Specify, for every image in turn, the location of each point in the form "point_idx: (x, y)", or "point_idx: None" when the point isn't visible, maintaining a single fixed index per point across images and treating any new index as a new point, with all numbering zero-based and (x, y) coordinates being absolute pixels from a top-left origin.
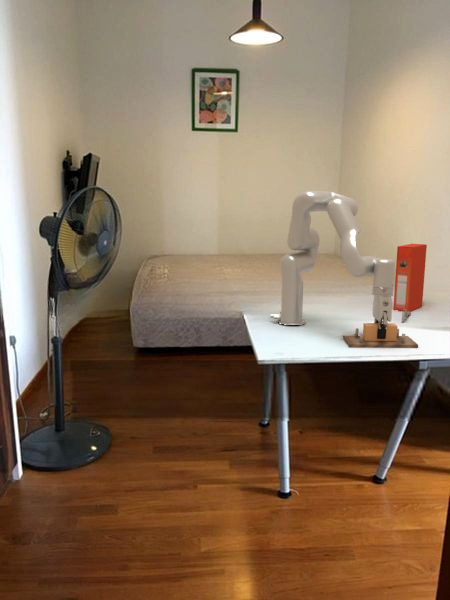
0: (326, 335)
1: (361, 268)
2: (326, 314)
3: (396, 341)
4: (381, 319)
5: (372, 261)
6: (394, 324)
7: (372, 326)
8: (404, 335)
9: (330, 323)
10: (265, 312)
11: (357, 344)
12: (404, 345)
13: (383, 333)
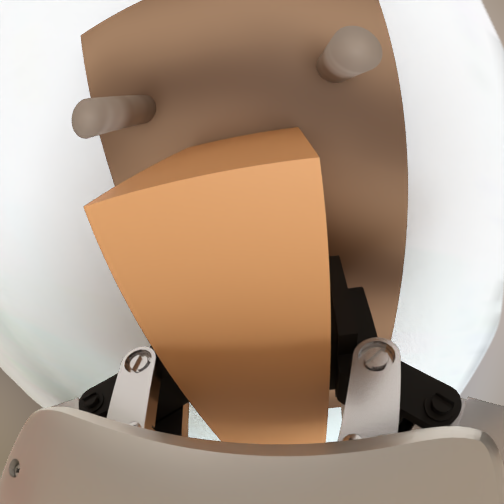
0: (201, 420)
1: None
2: (4, 346)
3: (293, 123)
4: (149, 425)
5: None
6: (160, 212)
7: (325, 436)
8: (375, 46)
9: (56, 369)
10: None
11: None
12: (393, 72)
13: (370, 319)
